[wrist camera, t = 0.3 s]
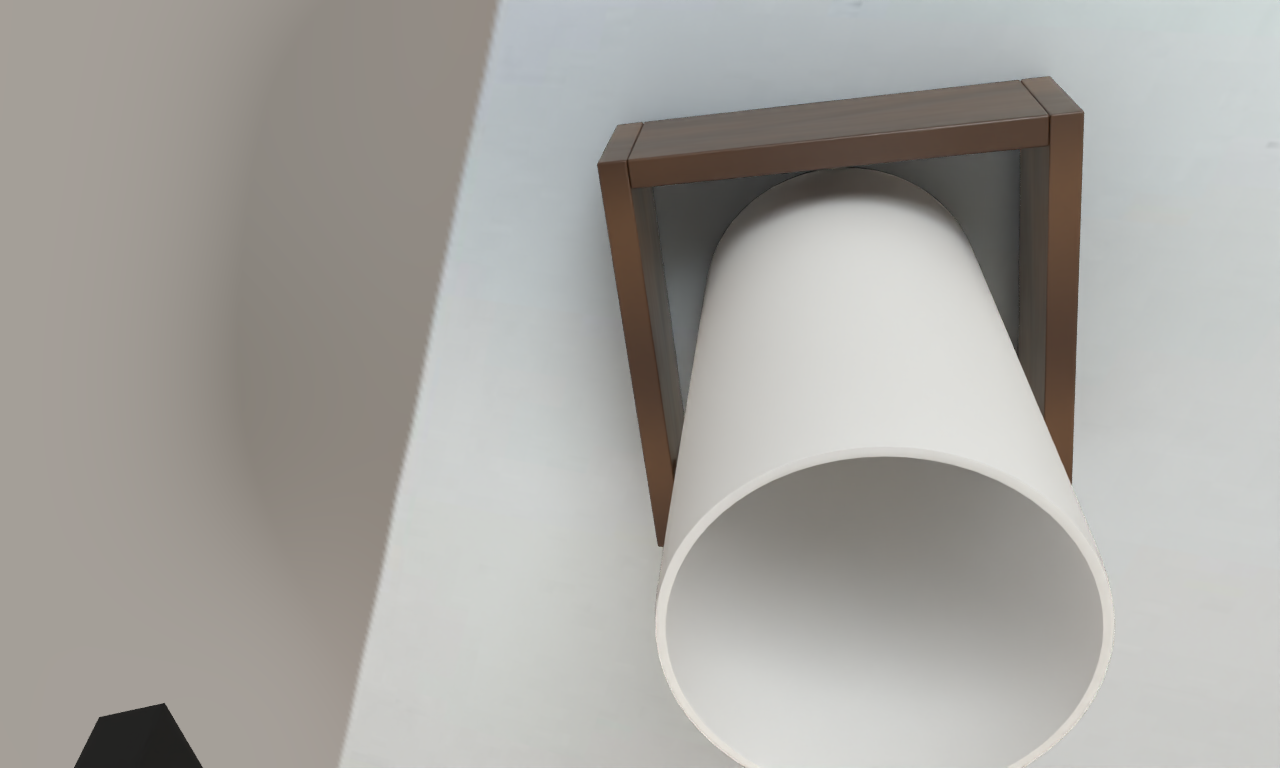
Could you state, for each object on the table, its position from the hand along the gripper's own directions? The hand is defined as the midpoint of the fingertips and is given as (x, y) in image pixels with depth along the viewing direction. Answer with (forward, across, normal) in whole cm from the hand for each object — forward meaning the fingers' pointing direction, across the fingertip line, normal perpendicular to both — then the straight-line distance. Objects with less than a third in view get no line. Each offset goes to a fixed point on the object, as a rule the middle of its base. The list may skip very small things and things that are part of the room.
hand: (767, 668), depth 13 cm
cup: (+22, +4, -7) cm, 24 cm away
